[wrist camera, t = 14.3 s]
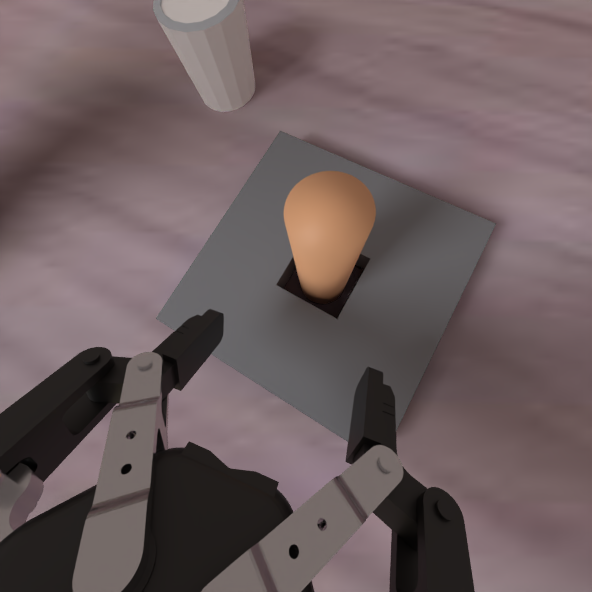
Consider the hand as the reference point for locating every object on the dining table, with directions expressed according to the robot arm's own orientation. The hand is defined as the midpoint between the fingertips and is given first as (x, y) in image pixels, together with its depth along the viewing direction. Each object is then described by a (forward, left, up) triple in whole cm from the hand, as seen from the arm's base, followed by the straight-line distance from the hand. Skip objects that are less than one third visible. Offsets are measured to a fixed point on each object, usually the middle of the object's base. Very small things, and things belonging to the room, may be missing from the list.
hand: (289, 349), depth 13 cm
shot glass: (-19, +19, -7) cm, 28 cm away
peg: (-1, +6, -7) cm, 9 cm away
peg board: (-1, +6, -6) cm, 9 cm away
